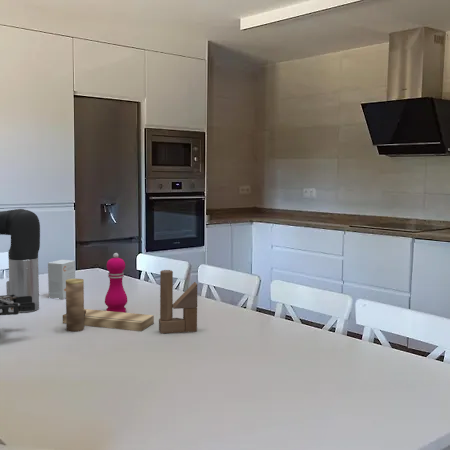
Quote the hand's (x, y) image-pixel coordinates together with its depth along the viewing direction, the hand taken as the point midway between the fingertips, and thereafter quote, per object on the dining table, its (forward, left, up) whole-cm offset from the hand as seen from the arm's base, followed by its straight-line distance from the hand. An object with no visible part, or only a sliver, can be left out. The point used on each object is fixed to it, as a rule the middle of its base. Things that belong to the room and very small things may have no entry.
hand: (33, 302), depth 160 cm
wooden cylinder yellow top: (+9, +9, -9) cm, 15 cm away
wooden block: (+38, +15, -9) cm, 42 cm away
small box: (-18, +43, -9) cm, 48 cm away
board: (+15, +16, -9) cm, 24 cm away
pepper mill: (+12, +27, -9) cm, 31 cm away
